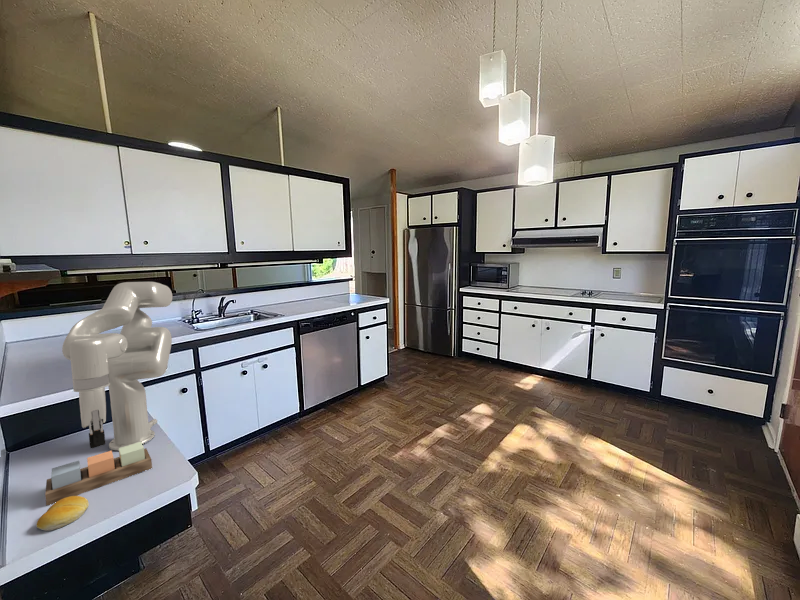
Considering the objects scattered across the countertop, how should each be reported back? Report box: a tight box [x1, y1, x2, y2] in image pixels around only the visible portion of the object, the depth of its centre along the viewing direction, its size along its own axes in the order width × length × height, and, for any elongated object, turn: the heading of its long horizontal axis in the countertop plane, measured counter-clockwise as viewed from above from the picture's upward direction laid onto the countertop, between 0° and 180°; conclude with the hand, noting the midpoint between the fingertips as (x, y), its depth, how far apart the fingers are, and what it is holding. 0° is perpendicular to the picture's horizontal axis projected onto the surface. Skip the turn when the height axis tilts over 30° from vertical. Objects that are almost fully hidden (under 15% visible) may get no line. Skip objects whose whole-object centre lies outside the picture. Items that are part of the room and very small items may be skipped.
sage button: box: [118, 442, 145, 467], centre depth 101 cm, size 5×5×4 cm
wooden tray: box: [44, 447, 153, 506], centre depth 96 cm, size 22×9×3 cm, turn 135°
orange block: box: [86, 449, 115, 478], centre depth 96 cm, size 5×5×4 cm
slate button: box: [50, 459, 81, 490], centre depth 91 cm, size 5×5×4 cm
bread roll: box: [36, 495, 90, 532], centre depth 81 cm, size 8×9×4 cm
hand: (97, 445), depth 95 cm, fingers closed
